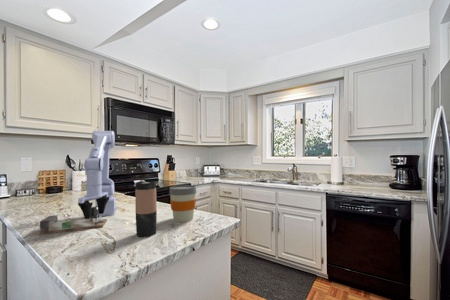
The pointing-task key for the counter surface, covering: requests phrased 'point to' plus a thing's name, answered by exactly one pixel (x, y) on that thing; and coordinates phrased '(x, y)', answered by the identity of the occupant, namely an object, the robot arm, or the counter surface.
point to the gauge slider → (95, 214)
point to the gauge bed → (67, 225)
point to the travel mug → (145, 208)
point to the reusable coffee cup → (183, 202)
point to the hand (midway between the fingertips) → (94, 216)
